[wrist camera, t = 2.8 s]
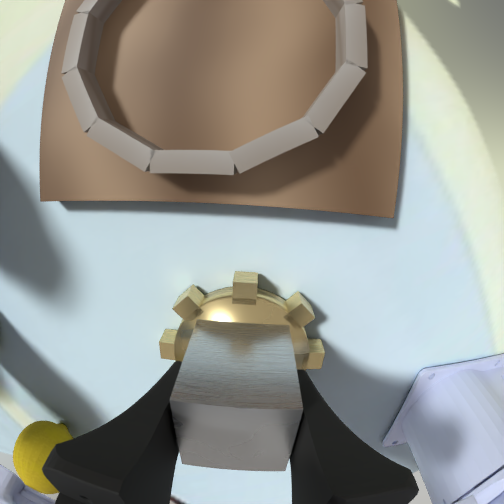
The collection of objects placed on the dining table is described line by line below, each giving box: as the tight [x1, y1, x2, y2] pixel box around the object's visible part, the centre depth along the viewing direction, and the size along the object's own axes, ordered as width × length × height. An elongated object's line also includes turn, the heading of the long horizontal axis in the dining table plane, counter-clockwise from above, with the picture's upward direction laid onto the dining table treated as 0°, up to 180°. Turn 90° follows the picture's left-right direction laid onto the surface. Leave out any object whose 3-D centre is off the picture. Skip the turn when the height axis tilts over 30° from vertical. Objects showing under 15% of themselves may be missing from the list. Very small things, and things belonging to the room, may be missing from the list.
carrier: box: [40, 0, 403, 218], centre depth 9 cm, size 16×14×3 cm
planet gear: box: [159, 271, 325, 471], centre depth 11 cm, size 8×8×6 cm
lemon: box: [13, 421, 73, 494], centre depth 14 cm, size 6×6×8 cm
